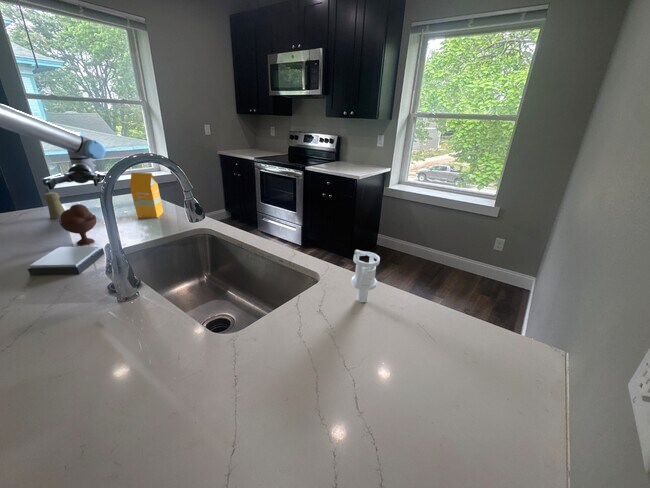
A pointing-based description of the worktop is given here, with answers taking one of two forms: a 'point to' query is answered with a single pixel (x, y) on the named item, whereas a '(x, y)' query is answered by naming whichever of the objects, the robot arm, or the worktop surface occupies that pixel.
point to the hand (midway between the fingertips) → (72, 184)
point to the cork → (54, 205)
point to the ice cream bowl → (78, 222)
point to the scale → (66, 261)
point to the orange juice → (146, 195)
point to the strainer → (364, 274)
